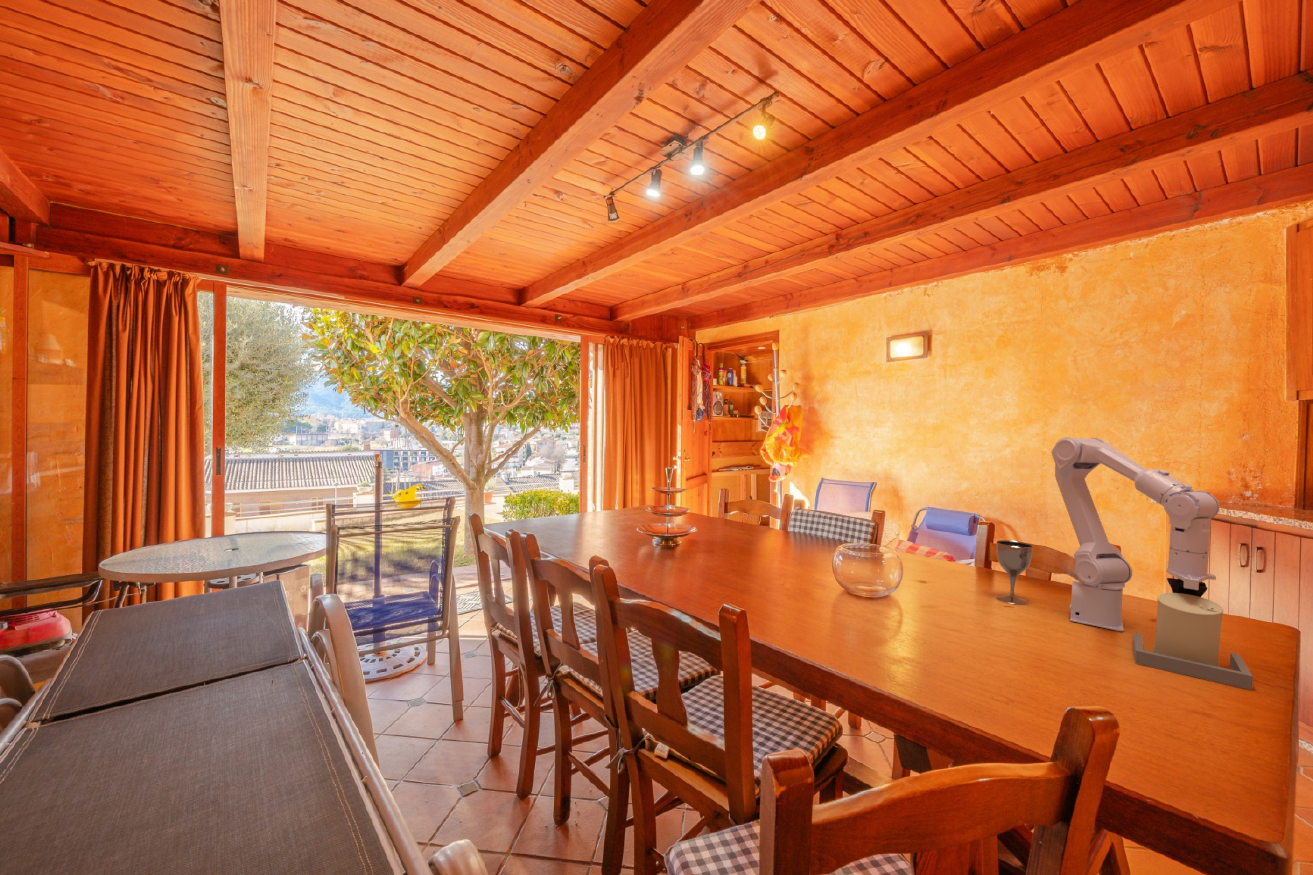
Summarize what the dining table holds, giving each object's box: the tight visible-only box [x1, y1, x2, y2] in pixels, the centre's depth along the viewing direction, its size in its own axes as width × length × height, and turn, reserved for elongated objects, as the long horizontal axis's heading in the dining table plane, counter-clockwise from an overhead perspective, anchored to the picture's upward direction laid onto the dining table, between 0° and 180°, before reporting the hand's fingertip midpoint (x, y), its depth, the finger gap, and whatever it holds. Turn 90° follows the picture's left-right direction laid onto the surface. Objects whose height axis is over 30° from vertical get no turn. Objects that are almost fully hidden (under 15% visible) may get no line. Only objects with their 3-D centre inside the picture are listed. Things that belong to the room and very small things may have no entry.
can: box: [1153, 592, 1224, 667], centre depth 105 cm, size 9×9×12 cm
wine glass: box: [995, 539, 1034, 606], centre depth 141 cm, size 8×8×15 cm
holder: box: [1132, 632, 1254, 691], centre depth 104 cm, size 15×12×2 cm
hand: (1184, 616), depth 109 cm, fingers closed
